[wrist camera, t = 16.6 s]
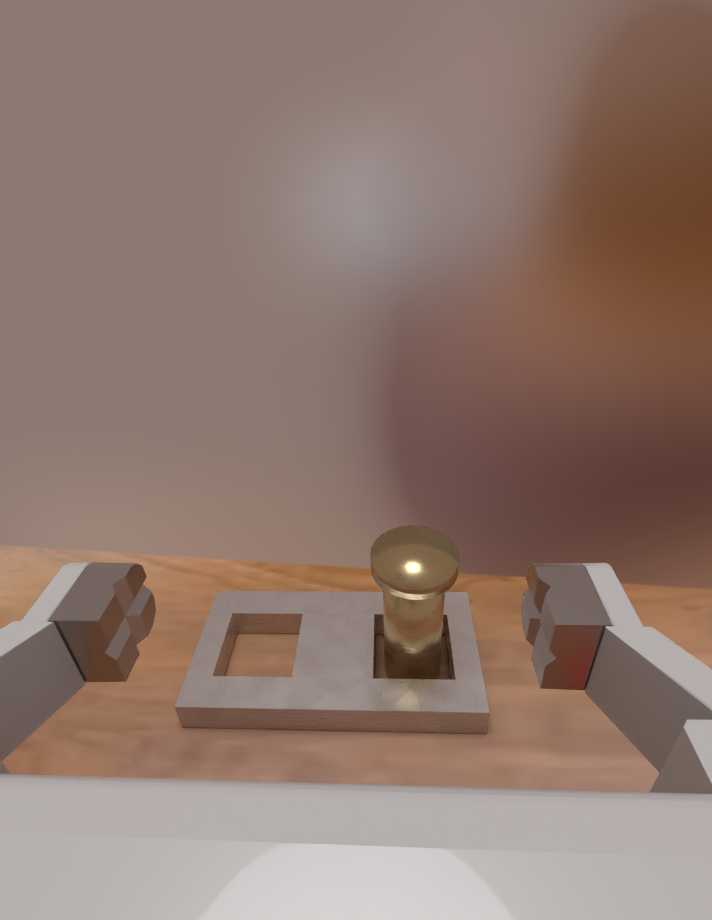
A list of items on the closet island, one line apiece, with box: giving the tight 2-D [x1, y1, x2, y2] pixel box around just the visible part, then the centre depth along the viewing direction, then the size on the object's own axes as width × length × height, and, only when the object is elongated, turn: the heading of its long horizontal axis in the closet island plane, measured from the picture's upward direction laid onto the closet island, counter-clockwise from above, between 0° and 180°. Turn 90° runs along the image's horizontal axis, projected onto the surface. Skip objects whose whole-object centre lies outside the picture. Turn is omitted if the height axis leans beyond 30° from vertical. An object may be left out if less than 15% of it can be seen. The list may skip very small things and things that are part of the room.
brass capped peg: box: [371, 526, 459, 679], centre depth 38 cm, size 6×6×12 cm
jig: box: [175, 591, 490, 734], centre depth 41 cm, size 22×11×2 cm, turn 87°
